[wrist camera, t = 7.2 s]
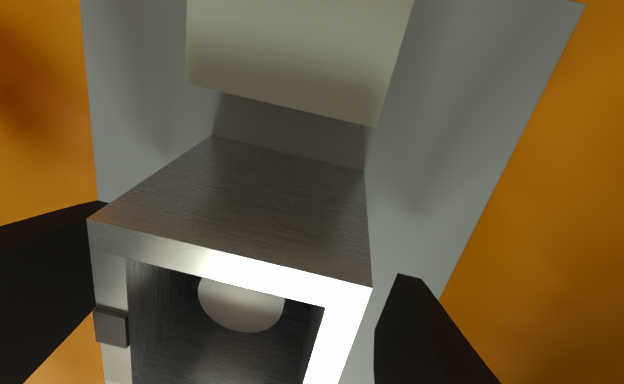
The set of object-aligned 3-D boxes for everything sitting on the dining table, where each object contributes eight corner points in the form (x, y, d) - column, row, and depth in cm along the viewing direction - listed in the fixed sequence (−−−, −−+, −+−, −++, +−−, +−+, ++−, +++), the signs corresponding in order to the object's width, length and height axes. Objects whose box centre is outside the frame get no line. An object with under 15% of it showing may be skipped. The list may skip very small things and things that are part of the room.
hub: (329, 289, 12) (312, 454, 7) (202, 258, 12) (103, 401, 7) (364, 171, 10) (373, 292, 5) (211, 135, 10) (81, 221, 5)
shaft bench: (383, 383, 15) (394, 514, 11) (125, 319, 15) (40, 423, 11) (561, 8, 8) (761, -22, 4) (99, -96, 8) (-136, -220, 4)
